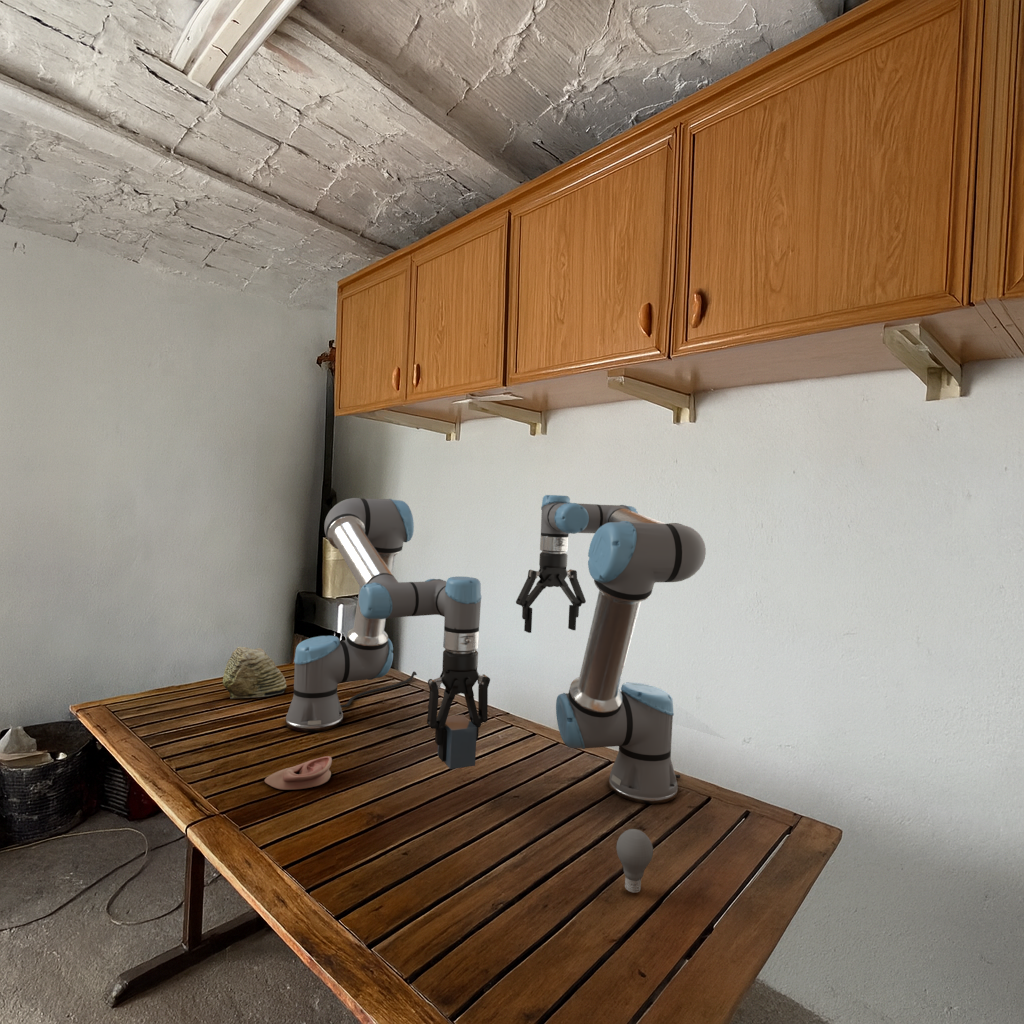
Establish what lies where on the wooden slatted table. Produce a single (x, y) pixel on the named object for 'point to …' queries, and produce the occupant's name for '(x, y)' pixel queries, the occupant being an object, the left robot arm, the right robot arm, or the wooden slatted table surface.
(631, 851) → the light bulb
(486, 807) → the wooden slatted table surface
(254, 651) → the fossil
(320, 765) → the anatomical model
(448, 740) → the dark grey boxy piece
